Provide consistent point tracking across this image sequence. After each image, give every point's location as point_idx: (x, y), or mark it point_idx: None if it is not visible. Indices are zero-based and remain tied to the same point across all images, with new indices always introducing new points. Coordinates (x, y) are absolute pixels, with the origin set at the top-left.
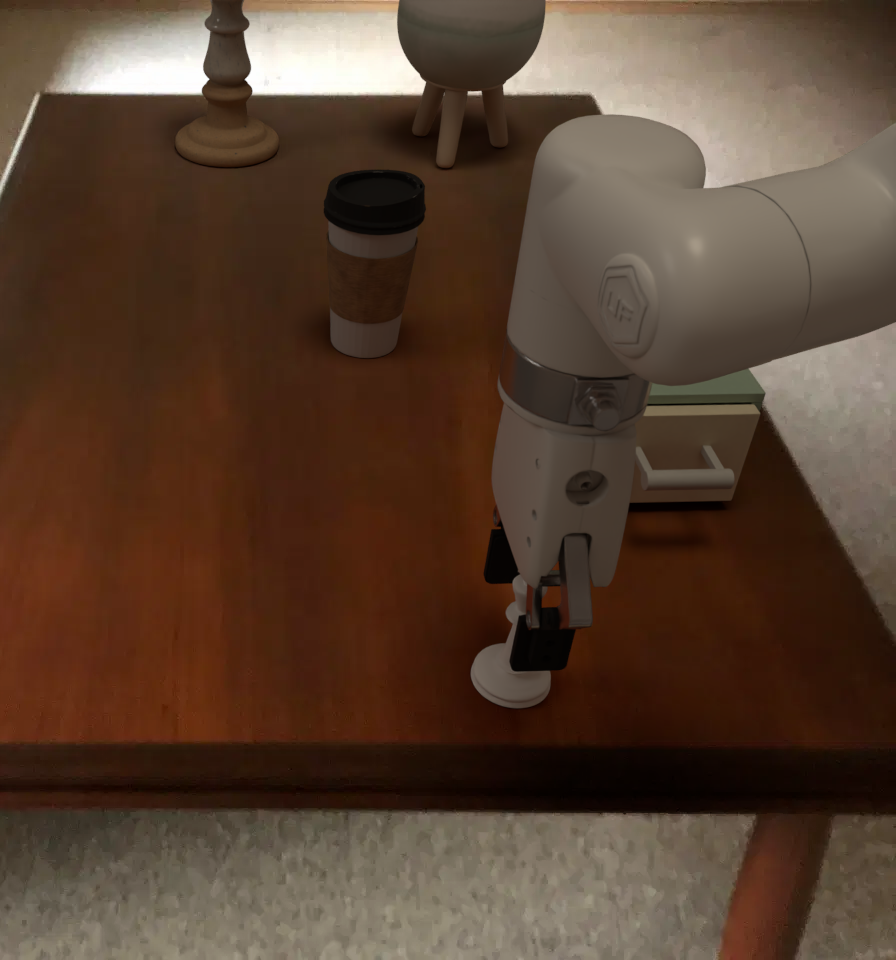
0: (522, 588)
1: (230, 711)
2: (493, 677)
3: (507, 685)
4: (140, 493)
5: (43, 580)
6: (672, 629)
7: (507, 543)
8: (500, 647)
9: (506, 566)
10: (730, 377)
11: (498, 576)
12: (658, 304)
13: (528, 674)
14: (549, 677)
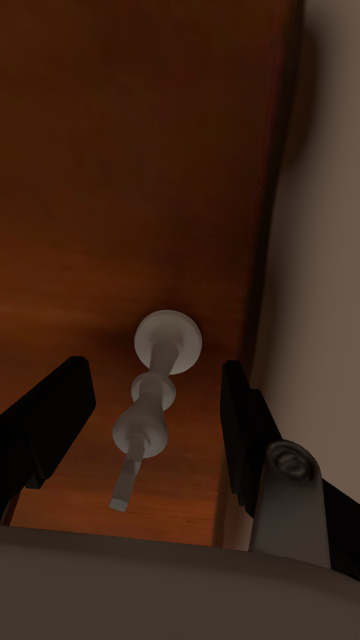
0: (152, 454)
1: (193, 498)
2: (179, 366)
3: (188, 357)
4: (15, 516)
5: None
6: (92, 152)
7: (50, 455)
8: (142, 352)
9: (77, 410)
10: None
11: (88, 404)
12: None
13: (178, 339)
14: (176, 316)
